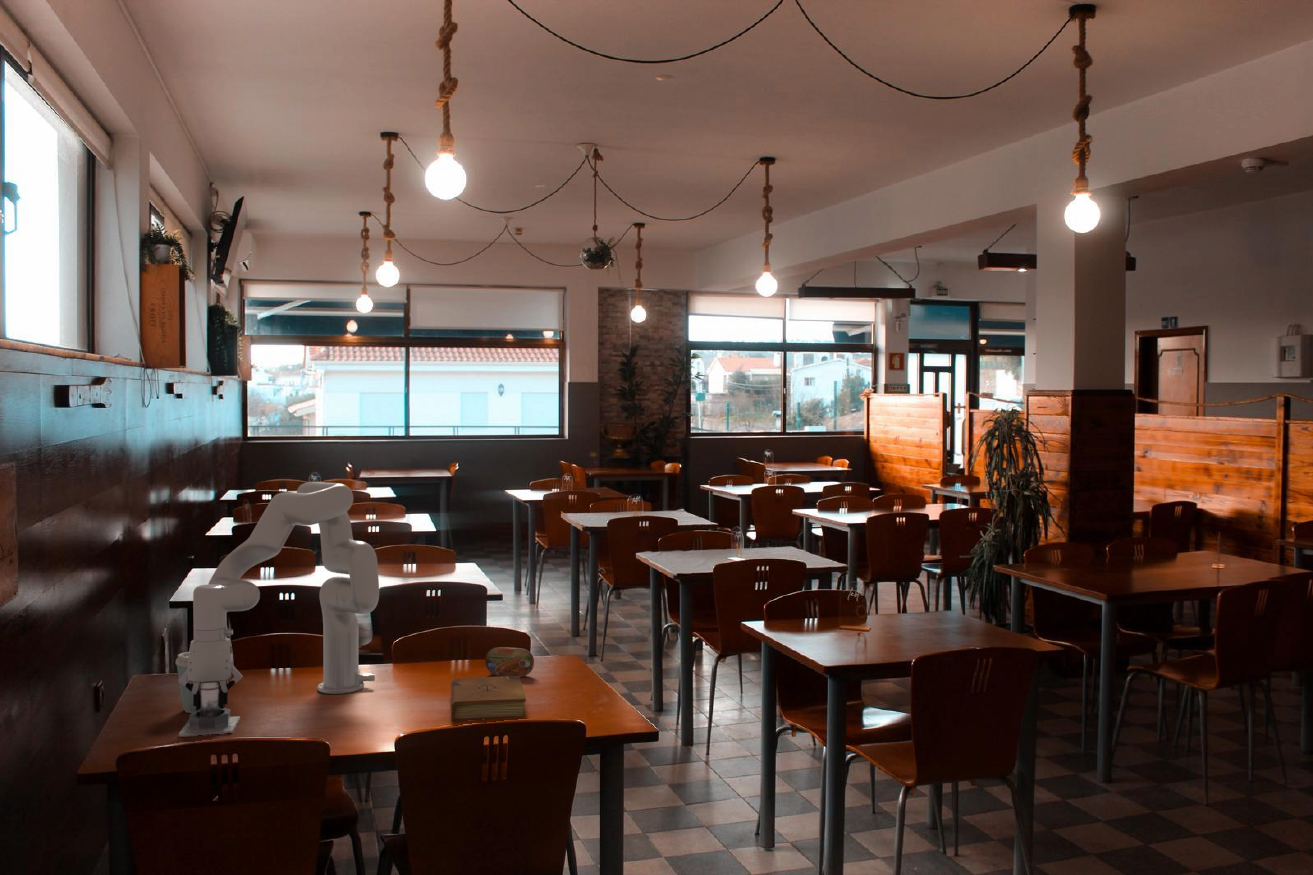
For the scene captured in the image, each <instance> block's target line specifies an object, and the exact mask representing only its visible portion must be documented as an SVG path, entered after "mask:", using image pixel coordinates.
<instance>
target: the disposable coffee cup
mask: <svg viewBox="0 0 1313 875" xmlns="http://www.w3.org/2000/svg"><path fill="white" fill-rule="evenodd" d="M188 657H189V651H185V652H181V653H179V654H177V658H176V659H175V665H176V669H177V676H178V679H179V678H180V677H181V676H182V675H183V673H184V672H185V671H186V670H187V669H188ZM187 680H188V676H187ZM188 681H189V680H188ZM189 682H190V681H189ZM192 683H193V684H194V682H192ZM179 688H180V695H181V696H180V697H181V702H182V707H183V709H184V711H185V713H190V714H191V713H192V712H193V711H197V710H196V706H193V694H192V692H191V691H190V690H188V689H187V688H186V686H184V685H182V684H181V683H179ZM199 710H200V709H199Z"/></svg>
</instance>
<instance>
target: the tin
mask: <svg viewBox="0 0 1313 875" xmlns="http://www.w3.org/2000/svg"><path fill="white" fill-rule="evenodd" d="M485 666H486V667H485V668H486V669H487V671H488V672H489V673H491V675H493V676H495V677H501V676H520V678H523V677H526V676H528V675H529V674H530V673H531V672H532V671H533V669H534V666H535V658H534V656H533V654H532V652H531V651H529V650H528V649H526V648H521V647H508V646H507V647H504V646H500V647H493V648H491V649H490V650H488V652H487V654H486V655H485Z"/></svg>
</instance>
